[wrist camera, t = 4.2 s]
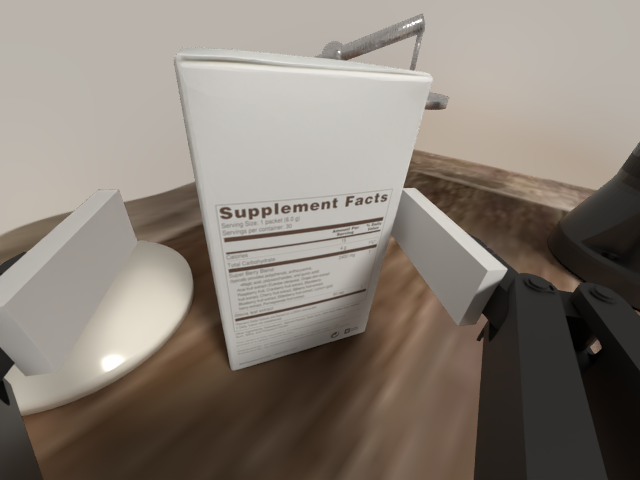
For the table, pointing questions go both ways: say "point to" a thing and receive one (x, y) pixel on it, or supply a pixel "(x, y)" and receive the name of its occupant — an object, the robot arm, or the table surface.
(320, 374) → the table surface
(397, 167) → the supplement box
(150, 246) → the cream dish
